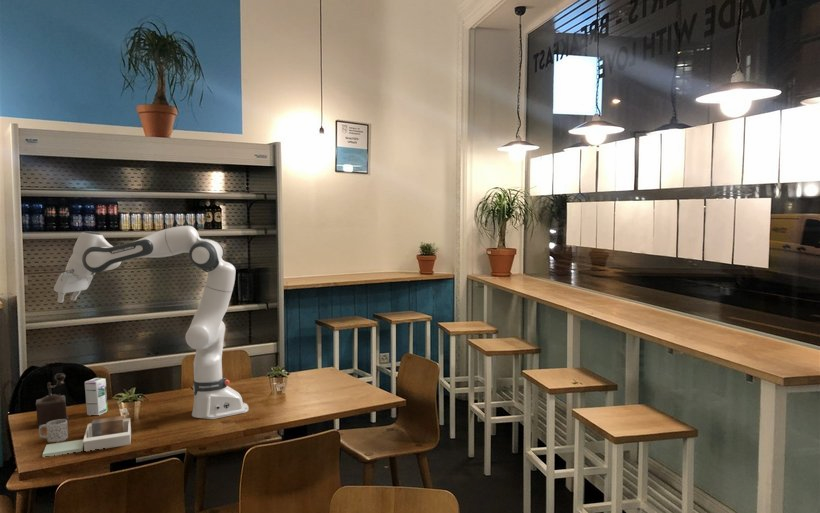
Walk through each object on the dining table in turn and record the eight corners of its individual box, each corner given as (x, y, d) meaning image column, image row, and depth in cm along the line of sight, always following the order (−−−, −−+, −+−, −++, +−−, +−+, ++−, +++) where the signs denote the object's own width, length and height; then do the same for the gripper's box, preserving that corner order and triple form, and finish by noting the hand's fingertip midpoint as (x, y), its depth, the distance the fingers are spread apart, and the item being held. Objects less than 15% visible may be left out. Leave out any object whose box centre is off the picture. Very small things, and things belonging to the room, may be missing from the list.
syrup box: (98, 415, 255) (96, 381, 255) (86, 415, 257) (84, 381, 256) (108, 411, 261) (106, 377, 260) (95, 411, 262) (94, 377, 261)
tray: (131, 429, 237) (130, 417, 237) (130, 447, 218) (129, 434, 218) (88, 435, 231) (87, 423, 231) (83, 454, 212) (83, 441, 212)
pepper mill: (69, 423, 247) (66, 379, 246) (37, 428, 241) (34, 383, 240) (68, 413, 260) (65, 371, 259) (37, 418, 255) (34, 375, 253)
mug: (71, 436, 232) (70, 418, 231) (62, 442, 225) (61, 424, 225) (44, 437, 231) (43, 419, 231) (34, 443, 225) (33, 425, 224)
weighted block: (124, 436, 229) (122, 415, 228) (123, 441, 224) (122, 419, 224) (93, 441, 225) (92, 419, 224) (92, 445, 220) (91, 423, 220)
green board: (84, 442, 224) (84, 439, 224) (82, 451, 215) (82, 448, 215) (46, 448, 219) (46, 444, 219) (42, 457, 210) (42, 454, 210)
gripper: (72, 273, 237) (59, 306, 237) (98, 270, 257) (86, 301, 257) (56, 267, 236) (44, 300, 237) (84, 265, 257) (72, 296, 257)
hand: (66, 301), depth 247 cm, fingers open, 8 cm apart
